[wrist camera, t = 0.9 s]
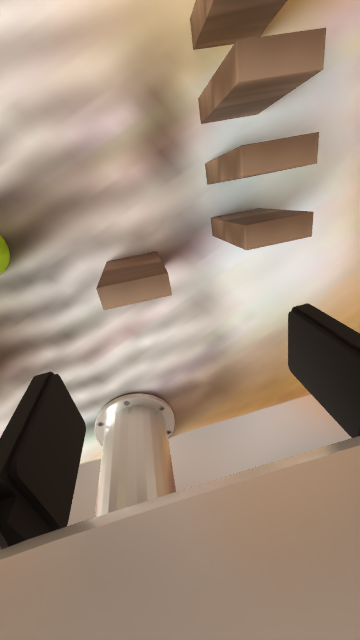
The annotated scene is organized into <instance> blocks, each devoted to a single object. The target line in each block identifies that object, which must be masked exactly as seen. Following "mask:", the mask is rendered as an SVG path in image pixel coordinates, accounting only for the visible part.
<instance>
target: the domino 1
mask: <svg viewBox="0 0 360 640" xmlns="http://www.w3.org/2000/svg"><path fill="white" fill-rule="evenodd" d="M96 289H97V291H98V294H99V297H100V300H101V303H102V306H103V309H104V310H107V309H111V308H116V307H120V306H125V305H129V304H134V303H138V302H143V301H147V300H152V299H156V298H161V297H165V296H170V295H172V292H171V287H170V282H169V277H168V272H167V270H166V269H165V267H164V265H163V263H162V261H161V259H160V257H159V255H158V253H157V252H152V253H147V254H143V255H138V256H133V257H128V258H123V259H118V260H114V261H109V262H107V263H106V265H105V268H104V270H103V273H102V275H101V278H100V281H99V283H98V286H97V288H96Z"/></svg>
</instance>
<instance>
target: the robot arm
mask: <svg viewBox="0 0 360 640" xmlns="http://www.w3.org/2000/svg"><path fill="white" fill-rule="evenodd" d="M288 366H289V369H290V371H291V372H292V374H293V375H294V376H295V377H296V378H297V379H298V380H299V381H300V382H301V383H302V385H303V386H304V387H305V388H306V389H307V390H308V391H309V392H310V393H311V394H312V395H313V396H314V397H315V399H316V400H317V401H318V402H319V403H320V404H321V405H322V406H323V407H324V408H325V409H326V411H327V412H328V413H329V414H330V415H331V416H332V417H333V418H334V419H335V420H336V421H337V422H338V424H339V425H340V426H341V427H342V428H343V429H344V430H345V431H346V432H347V433H348V434H349V435H350V436H351V437H352V438H351V439H348V440H345V441H342V442H338V443H335V444H331V445H328V446H325V447H322V448H318V449H315V450H311V451H308V452H305V453H302V454H298V455H295V456H292V457H288V458H285V459H282V460H278V461H275V462H272V463H269V464H265V465H262V466H259V467H255V468H252V469H249V470H246V471H242V472H239V473H236V474H233V475H229V476H226V477H223V478H220V479H216V480H213V481H210V482H207V483H204V484H200V485H197V486H194V487H190V488H188V489H184V490H181V491H177V492H176V487H175V482H174V475H173V468H172V462H171V455H170V449H169V443H168V439H169V438H170V436H171V435H172V433H173V430H174V427H175V418H174V414H173V411H172V409H171V407H170V406H169V405H168V404H167V403H166V402H165V401H164V400H162V399H161V398H158V397H156V396H153V395H149V394H141V393H138V394H129V395H124V396H121V397H119V398H116V399H114V400H112V401H111V402H109V403H108V404H107V405H105V406H104V407H103V408H102V410H101V411H100V412H99V414H98V416H97V418H96V422H95V429H94V431H95V436H96V439H97V441H98V442H99V443H100V444H101V446H103V449H102V458H101V467H100V476H99V484H98V494H97V503H96V511H95V518H91V519H89V520H85V521H82V522H79V523H76V524H74V525H70V526H67V524H68V520H69V514H70V509H71V504H72V499H73V494H74V489H75V484H76V479H77V473H78V468H79V463H80V458H81V453H82V448H83V443H84V437H85V432H86V426H85V422H84V420H83V418H82V416H81V414H80V413H79V411H78V409H77V407H76V405H75V403H74V401H73V400H72V398H71V396H70V394H69V392H68V390H67V389H66V387H65V385H64V383H63V381H62V379H61V377H60V376H59V375H58V374H54V373H53V372H48V373H44V374H40V375H36V376H34V377H33V379H32V381H31V383H30V385H29V386H28V388H27V390H26V392H25V394H24V396H23V397H22V399H21V401H20V403H19V405H18V407H17V408H16V410H15V412H14V414H13V416H12V418H11V419H10V421H9V423H8V425H7V427H6V429H5V430H4V432H3V434H2V436H1V438H0V640H360V334H359V333H358V332H356V331H354V330H353V329H351V328H349V327H348V326H346V325H344V324H342V323H341V322H339V321H337V320H336V319H334V318H332V317H331V316H329V315H327V314H326V313H324V312H322V311H320V310H319V309H317V308H315V307H314V306H312V305H310V304H303V305H300V306H296V307H293V308H292V311H291V312H289V314H288ZM66 526H67V527H66Z"/></svg>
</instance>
